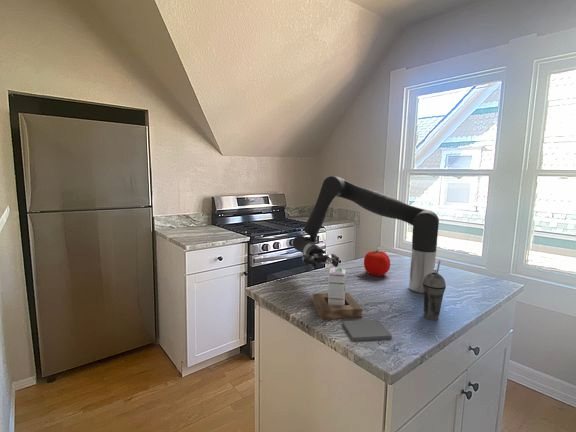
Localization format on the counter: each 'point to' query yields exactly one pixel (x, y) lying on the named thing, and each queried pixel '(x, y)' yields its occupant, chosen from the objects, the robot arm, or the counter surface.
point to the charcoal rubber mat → (366, 330)
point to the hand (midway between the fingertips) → (326, 264)
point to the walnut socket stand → (337, 307)
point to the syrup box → (336, 287)
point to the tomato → (376, 263)
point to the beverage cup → (433, 294)
